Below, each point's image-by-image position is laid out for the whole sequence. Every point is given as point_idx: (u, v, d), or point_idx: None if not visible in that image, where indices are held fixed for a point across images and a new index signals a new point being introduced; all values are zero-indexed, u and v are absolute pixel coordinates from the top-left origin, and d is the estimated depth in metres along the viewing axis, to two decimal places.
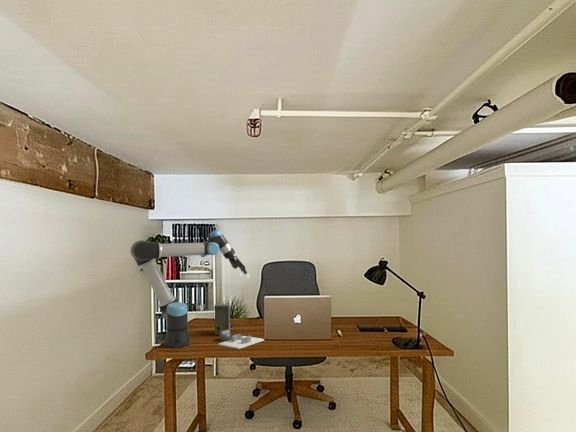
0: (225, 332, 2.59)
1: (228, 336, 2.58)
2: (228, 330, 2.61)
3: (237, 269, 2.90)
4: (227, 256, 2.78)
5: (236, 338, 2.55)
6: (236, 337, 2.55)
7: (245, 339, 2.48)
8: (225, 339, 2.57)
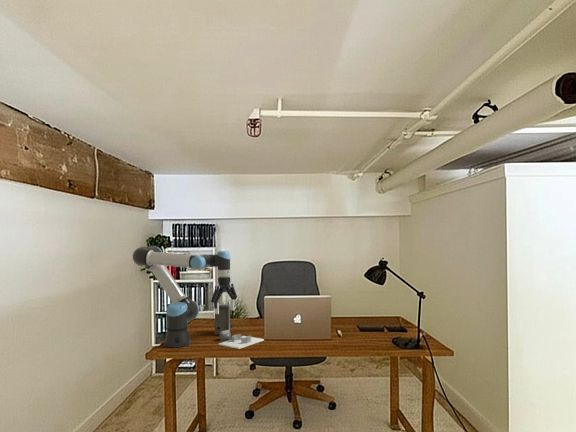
0: (225, 332, 2.59)
1: (228, 336, 2.58)
2: (228, 330, 2.61)
3: (231, 301, 2.66)
4: (218, 281, 2.61)
5: (236, 338, 2.55)
6: (236, 337, 2.55)
7: (245, 339, 2.48)
8: (225, 339, 2.57)
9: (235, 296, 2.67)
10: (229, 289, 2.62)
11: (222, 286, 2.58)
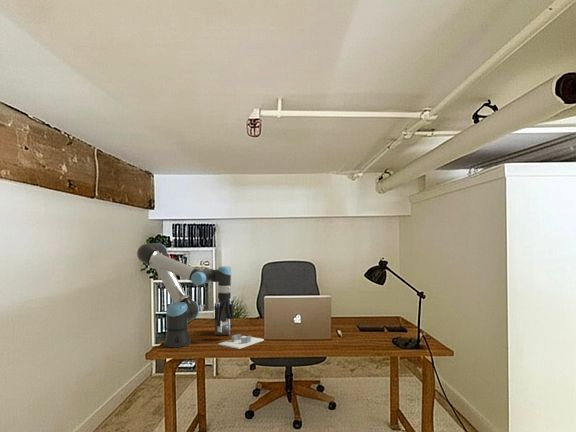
0: (224, 323, 2.59)
1: (227, 327, 2.58)
2: (227, 322, 2.62)
3: (227, 320, 2.63)
4: (218, 296, 2.60)
5: (236, 338, 2.55)
6: (236, 337, 2.55)
7: (245, 339, 2.48)
8: (224, 330, 2.57)
9: (231, 315, 2.65)
10: (228, 306, 2.61)
11: (222, 302, 2.58)
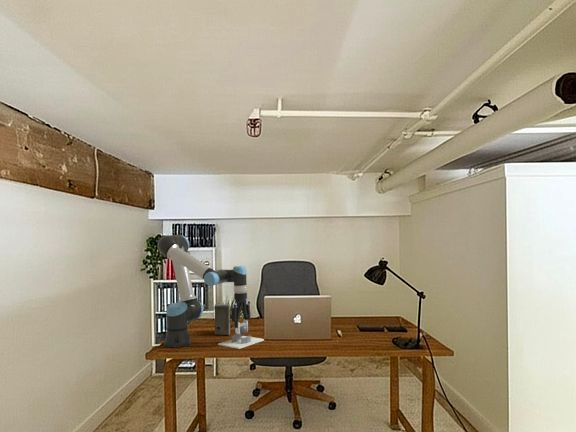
0: (242, 324, 2.52)
1: (245, 328, 2.50)
2: None
3: (244, 321, 2.56)
4: (234, 297, 2.53)
5: (236, 338, 2.55)
6: (236, 337, 2.55)
7: (245, 339, 2.48)
8: (242, 332, 2.49)
9: (248, 316, 2.57)
10: (245, 306, 2.54)
11: (239, 302, 2.50)
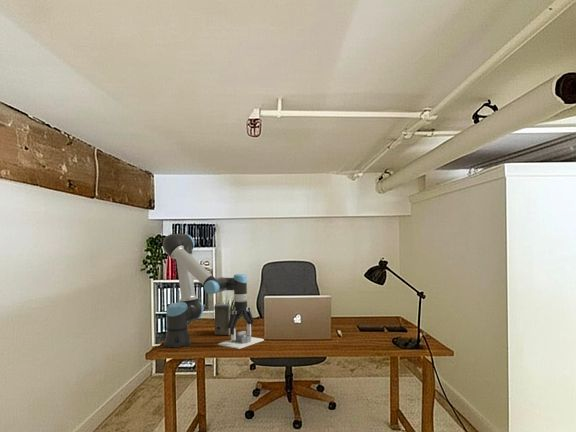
0: (242, 333, 2.52)
1: None
2: (244, 331, 2.54)
3: (248, 325, 2.58)
4: (234, 305, 2.53)
5: None
6: None
7: (245, 339, 2.48)
8: None
9: (252, 320, 2.59)
10: (246, 314, 2.54)
11: (239, 311, 2.50)
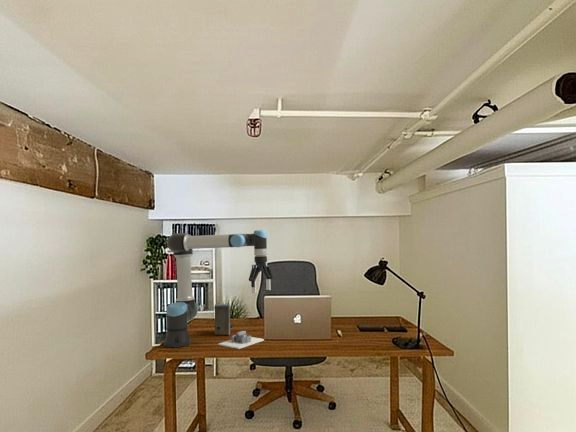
0: (242, 333, 2.52)
1: None
2: (245, 331, 2.54)
3: (267, 280, 2.65)
4: None
5: None
6: None
7: (245, 339, 2.48)
8: None
9: (271, 276, 2.67)
10: (265, 268, 2.61)
11: (259, 265, 2.58)
